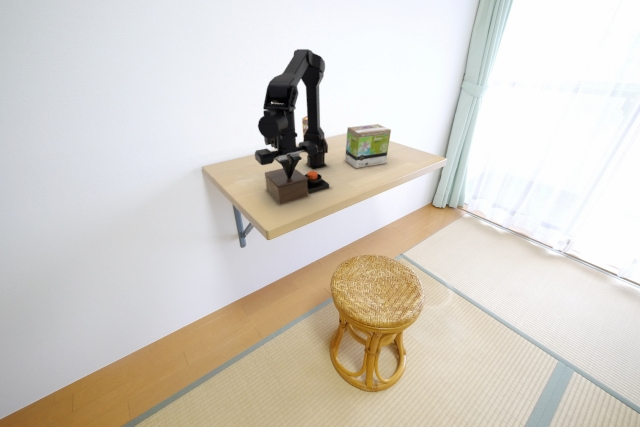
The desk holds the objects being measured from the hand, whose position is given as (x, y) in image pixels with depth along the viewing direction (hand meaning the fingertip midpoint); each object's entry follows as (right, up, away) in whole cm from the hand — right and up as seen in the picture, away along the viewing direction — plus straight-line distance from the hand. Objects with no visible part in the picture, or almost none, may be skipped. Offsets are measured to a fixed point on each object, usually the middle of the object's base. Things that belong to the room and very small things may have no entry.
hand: (289, 177), depth 84 cm
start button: (+7, +1, +9) cm, 12 cm away
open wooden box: (-2, -5, +6) cm, 8 cm away
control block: (+7, -1, +11) cm, 13 cm away
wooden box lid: (-1, +1, +2) cm, 3 cm away
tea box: (+30, +11, +29) cm, 43 cm away
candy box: (+5, +20, +44) cm, 49 cm away
